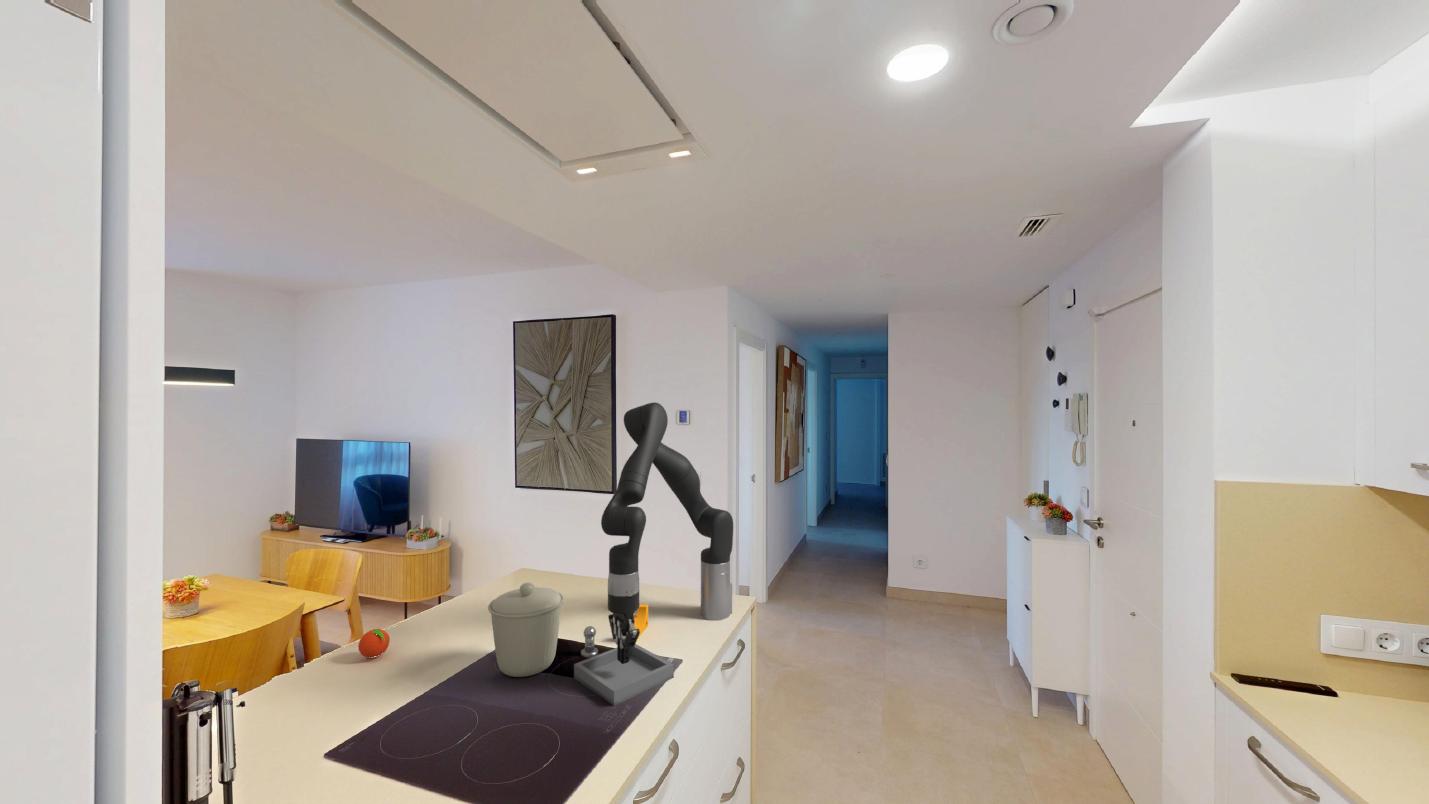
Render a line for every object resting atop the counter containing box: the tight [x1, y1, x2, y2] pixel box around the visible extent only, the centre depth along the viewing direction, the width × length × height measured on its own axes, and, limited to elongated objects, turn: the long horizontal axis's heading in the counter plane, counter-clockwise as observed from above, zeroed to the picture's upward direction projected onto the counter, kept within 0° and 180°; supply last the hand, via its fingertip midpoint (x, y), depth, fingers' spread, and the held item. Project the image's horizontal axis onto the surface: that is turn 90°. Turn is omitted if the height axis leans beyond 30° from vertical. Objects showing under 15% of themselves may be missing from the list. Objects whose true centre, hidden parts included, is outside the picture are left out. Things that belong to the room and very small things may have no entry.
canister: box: [487, 582, 565, 678], centre depth 133 cm, size 18×18×21 cm
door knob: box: [580, 625, 599, 659], centre depth 140 cm, size 4×4×7 cm
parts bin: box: [573, 644, 675, 706], centre depth 128 cm, size 17×17×4 cm
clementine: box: [358, 628, 391, 658], centre depth 139 cm, size 8×7×7 cm
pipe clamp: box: [634, 603, 649, 639], centre depth 153 cm, size 12×4×6 cm, turn 168°
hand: (623, 661), depth 128 cm, fingers closed
